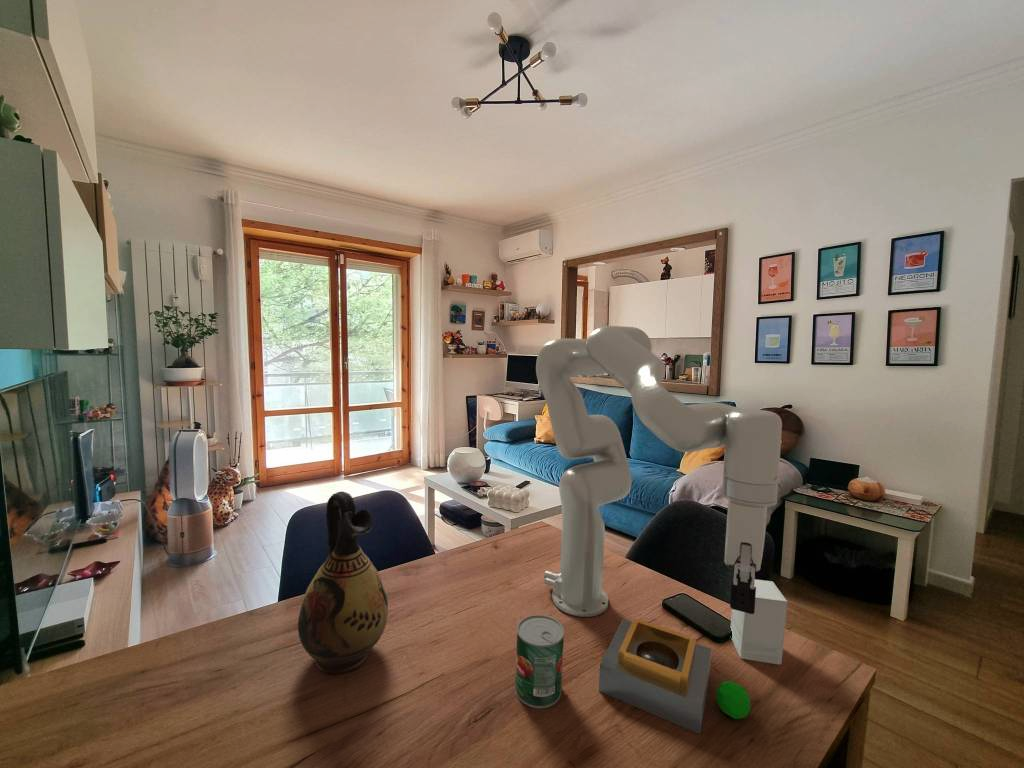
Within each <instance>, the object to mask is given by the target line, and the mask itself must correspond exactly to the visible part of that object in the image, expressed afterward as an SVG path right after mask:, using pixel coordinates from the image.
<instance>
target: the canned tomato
mask: <svg viewBox="0 0 1024 768" xmlns="http://www.w3.org/2000/svg"><path fill="white" fill-rule="evenodd" d="M564 628H565V627H564V626H563V625H562V624H561V622H559V620H557V619H555V618H554V617H551V616H548V615H544V614H543V615H542V614H533V615H528V616H526V617H523V618H522V619H521V620H520V621H519V622H518V624H517V626H516V632H517V633H516V650H515V651H516V653H515V654H516V655H515V657H516V659H515V683H514V684H515V685H514V692H515V696H516V697H517V698H518V699H519V701H520V702H522V703H523V704H524V705H526V706H528V707H531V708H533V709H534V708H535V709H546V708H549V707H552V706H554V705H555V704H556V703H557V702H558V701H559V700H560V698H561V696H562V682H563V681H562V679H563V678H562V677H563V660H564V642H565V641H564V638H565V637H564V635H565V629H564Z"/></svg>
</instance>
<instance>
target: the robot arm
mask: <svg viewBox="0 0 1024 768" xmlns="http://www.w3.org/2000/svg"><path fill="white" fill-rule="evenodd" d="M535 364H536V365H535V373H536V374H535V375H536V378H537V382H538V385H539V387H540V388H539V389H540V390H541V393H542V395H543V397H544V399H545V403H546V406H547V412H548V416H549V420H550V425H551V429H552V433H553V437H554V440H555V445H556V449H557V451H558V453H559V455H561V457H562V458H564V459H566V460H579V459H585V458H590V457H592V459H593V461H591V462H588V463H581V464H578V465H574V466H572V467H570V468H568V469H567V470H565V471H564V472H563V473H562V474H561V476H560V479H559V482H558V483H559V485H558V490H559V497H560V498H559V499H560V505H561V543H560V545H561V547H560V564H559V565H560V567H559V572H558V573H555V572H553V571H550V570H547V569H546V570H545V572H544V575H543V577H544V584H545V585H548V586H552V587H553V590H552V595H551V596H552V601H553V604H554V605H555V606H556V607H557V608H558V609H559V610H561V611H562V612H564V613H566V614H568V615H571V616H575V617H579V618H580V617H581V618H585V617H586V618H590V617H595V616H599V615H600V614H602V613H605V611H606V610H607V609H608V606H609V597H608V594H607V593H606V591H604V589H603V573H604V559H605V539H606V538H605V534H606V527H605V522H604V519H603V517H602V516H601V513H600V511H599V510H600V507H601V506H604V505H606V504H611V503H613V502H617V501H621V500H622V499H625V498H626V497H627V496H628V495H629V494H630V492H631V490H632V489H631V488H632V474H631V473H632V472H631V470H630V465H629V462H628V458H627V454H626V450H625V447H624V443H623V438H622V436H621V432H620V430H619V428H618V426H617V424H616V423H615V422H614V421H613V420H612V419H611V418H610V417H609V416H606V415H603V414H588V411H587V409H586V405H585V401H584V397H583V394H582V393H581V391H580V389H579V388H578V387H577V385H576V384H575V383H574V382H573V380H571V377H572V376H573V377H575V376H579V377H581V376H598V375H599V376H601V375H604V374H607V375H608V376H609V377H611V378H612V379H613V380H614V381H615V382H617V383H618V384H619V385H620V386H621V387H622V388H624V389H625V390H626V391H627V392H628V393H629V394H630V399H631V403H632V406H633V409H634V411H635V414H636V416H637V417H638V419H639V420H640V421H641V423H642V424H643V425H644V426H645V427H646V428H647V429H648V430H649V431H650V432H651V433H653V434H654V436H656V437H657V439H659V440H660V441H662V442H663V443H664V444H665V445H667V446H668V447H670V448H672V449H674V450H676V451H678V452H681V453H694V452H699V451H704V450H709V449H714V448H715V449H716V448H722V447H724V454H723V455H724V456H723V457H724V458H723V472H722V473H723V474H722V475H723V477H722V491H721V496H722V497H723V498H724V499H726V500H728V505H727V516H726V526H725V530H726V531H725V545H724V560H723V561H724V563H725V566H733V567H732V570H733V571H732V578H733V581H731V583H730V584H731V585H730V604H729V607H730V609H731V610H732V609H734V610H738V611H742V612H746V613H749V614H754V612H755V596H756V587H754V583H755V579H756V576H755V575H756V572H759V571H760V570H761V565H762V560H763V554H764V547H765V539H766V529H767V517H768V508H769V507H774V506H776V505H777V503H778V493H779V492H778V489H779V478H780V477H779V475H780V463H781V462H780V461H781V460H780V459H781V447H782V446H781V445H782V433H783V431H782V429H783V421H782V419H781V416H780V415H778V414H777V413H776V412H773V411H769V410H763V409H756V408H754V409H753V408H741V407H736V406H733V405H731V404H730V405H729V404H726V403H721V402H705V403H691V404H685V403H684V402H682V401H681V400H679V399H678V398H677V397H676V396H674V395H673V394H672V393H671V392H669V391H668V390H667V389H666V388H665V387H664V386H662V385H663V384H661V382H662V381H663V378H664V377H665V374H666V365H665V363H664V361H663V360H662V359H661V358H660V357H659V356H657V355H656V354H654V353H653V352H652V342H651V339H650V337H649V335H648V334H647V333H646V332H645V331H644V330H642V329H640V328H638V327H633V326H620V325H605V326H604V325H603V326H600V327H598V328H596V329H594V330H593V331H592V332H591V333H590V334H589V336H588V337H587V338H572V337H571V338H556V339H552V340H550V341H548V342H547V343H545V344H544V345H543V346H541V348H540V350H539V351H538V354H537V357H536V363H535ZM737 580H738V581H737Z"/></svg>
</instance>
